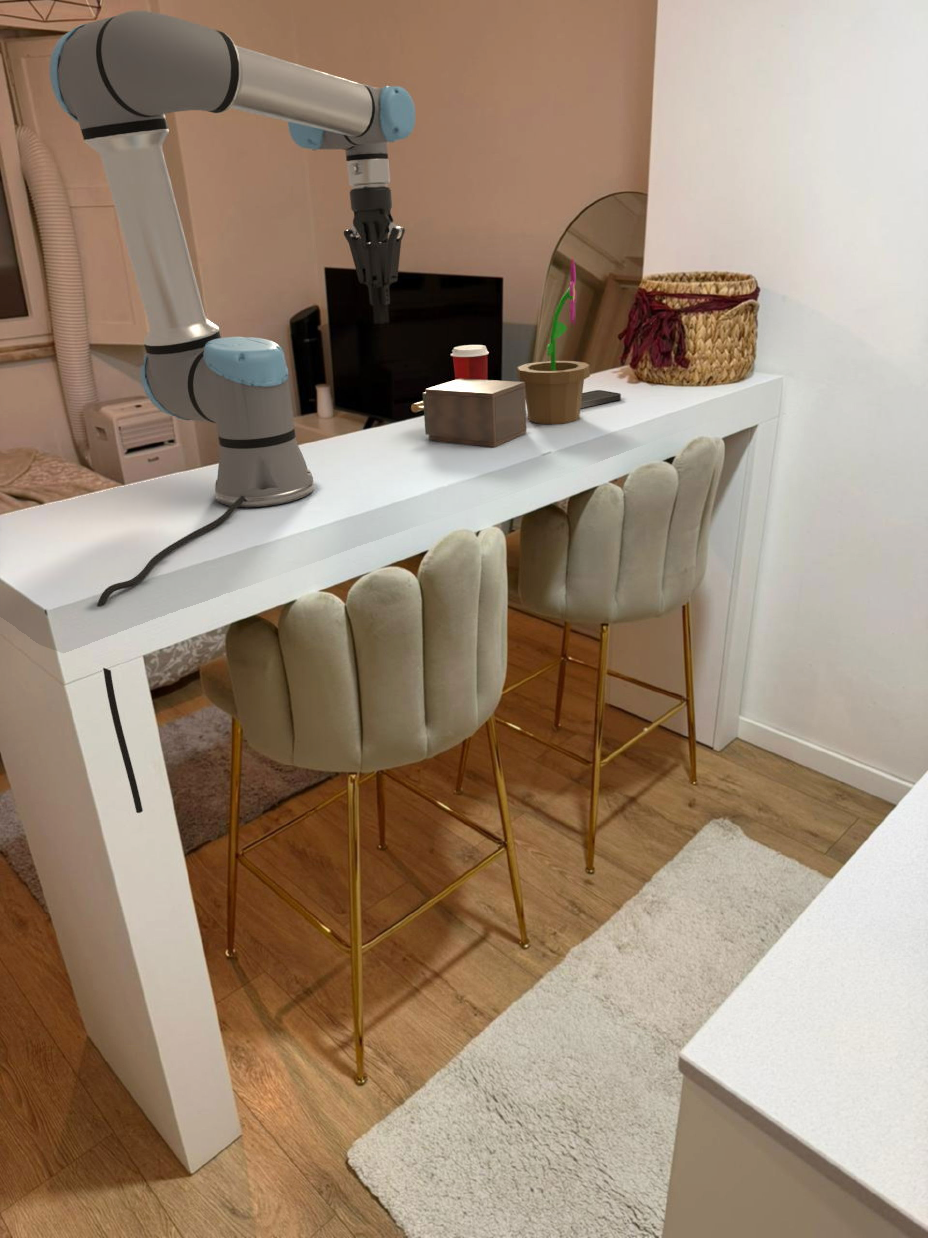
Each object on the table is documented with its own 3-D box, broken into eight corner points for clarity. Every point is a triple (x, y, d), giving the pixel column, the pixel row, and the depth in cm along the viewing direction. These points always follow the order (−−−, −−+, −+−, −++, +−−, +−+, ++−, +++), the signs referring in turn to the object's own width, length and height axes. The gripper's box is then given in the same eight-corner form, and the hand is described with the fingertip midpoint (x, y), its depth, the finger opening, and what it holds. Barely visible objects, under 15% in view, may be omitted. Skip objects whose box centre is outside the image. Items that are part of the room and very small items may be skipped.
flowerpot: (587, 425, 172) (588, 259, 159) (514, 426, 174) (509, 262, 162) (591, 410, 184) (592, 254, 172) (522, 411, 187) (519, 258, 174)
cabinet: (429, 440, 168) (425, 388, 164) (463, 427, 176) (460, 377, 172) (494, 447, 160) (492, 393, 156) (526, 433, 169) (525, 381, 165)
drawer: (407, 432, 171) (404, 391, 168) (438, 421, 179) (435, 381, 175) (485, 440, 162) (483, 397, 158) (514, 428, 169) (513, 386, 166)
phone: (623, 393, 192) (571, 404, 184) (623, 399, 193) (571, 410, 185) (597, 389, 198) (546, 399, 190) (597, 394, 198) (546, 405, 191)
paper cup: (492, 411, 188) (490, 343, 182) (490, 419, 181) (487, 348, 176) (456, 413, 189) (452, 345, 183) (452, 420, 182) (447, 350, 176)
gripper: (329, 189, 162) (343, 324, 171) (385, 184, 155) (396, 325, 165) (355, 188, 167) (368, 319, 177) (410, 184, 160) (420, 320, 170)
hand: (381, 322), depth 171 cm, fingers closed
